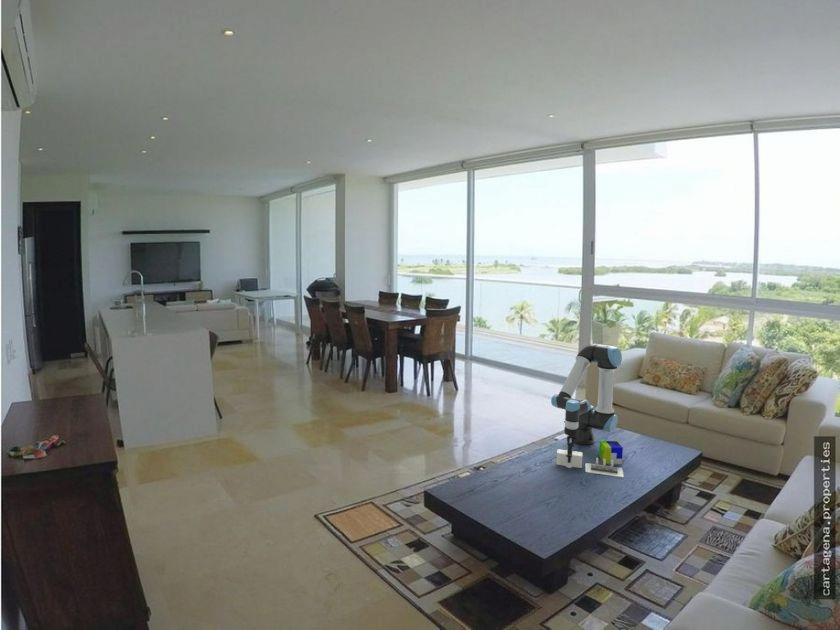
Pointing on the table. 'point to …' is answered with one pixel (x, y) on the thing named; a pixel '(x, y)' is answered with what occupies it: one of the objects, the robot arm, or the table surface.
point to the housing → (563, 459)
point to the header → (604, 469)
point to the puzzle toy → (611, 452)
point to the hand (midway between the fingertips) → (569, 462)
